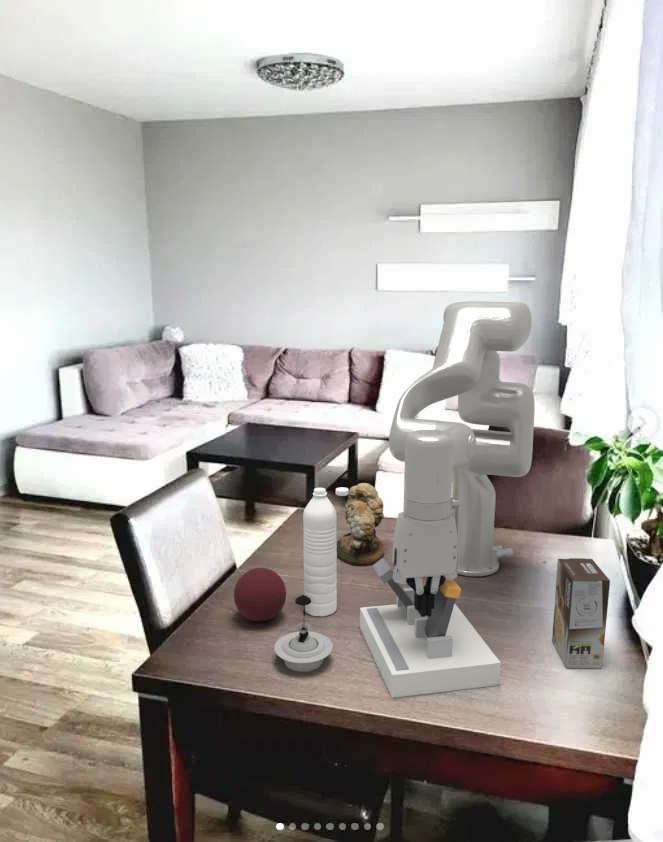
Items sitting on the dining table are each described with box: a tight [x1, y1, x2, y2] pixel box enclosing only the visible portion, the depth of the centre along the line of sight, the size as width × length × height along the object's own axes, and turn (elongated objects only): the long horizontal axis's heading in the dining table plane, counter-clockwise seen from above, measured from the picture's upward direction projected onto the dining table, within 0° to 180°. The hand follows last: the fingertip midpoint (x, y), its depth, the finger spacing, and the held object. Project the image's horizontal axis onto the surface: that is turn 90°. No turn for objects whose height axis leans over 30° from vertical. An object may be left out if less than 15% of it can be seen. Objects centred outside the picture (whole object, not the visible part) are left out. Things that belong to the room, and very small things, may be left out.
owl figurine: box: [336, 482, 385, 567], centre depth 160 cm, size 18×12×17 cm, turn 5°
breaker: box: [372, 557, 414, 608], centre depth 122 cm, size 2×5×11 cm
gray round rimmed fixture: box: [274, 594, 334, 672], centre depth 114 cm, size 12×10×10 cm
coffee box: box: [551, 557, 611, 670], centre depth 116 cm, size 9×6×16 cm
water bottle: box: [302, 486, 350, 617], centre depth 131 cm, size 9×6×25 cm
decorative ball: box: [233, 567, 287, 622], centre depth 129 cm, size 10×10×10 cm
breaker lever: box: [425, 579, 462, 638], centre depth 112 cm, size 2×5×11 cm, turn 11°
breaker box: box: [359, 587, 502, 699], centre depth 117 cm, size 18×22×7 cm
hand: (423, 612), depth 111 cm, fingers closed
